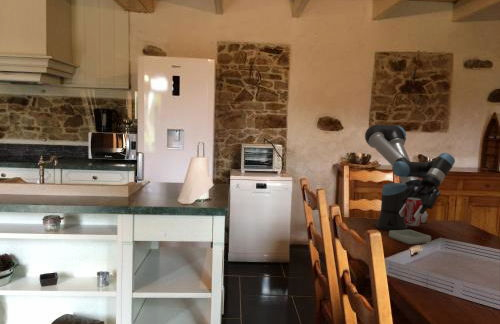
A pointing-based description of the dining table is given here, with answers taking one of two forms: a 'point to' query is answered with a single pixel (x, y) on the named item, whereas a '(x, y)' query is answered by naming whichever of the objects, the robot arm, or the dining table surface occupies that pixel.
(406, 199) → the robot arm
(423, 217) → the die
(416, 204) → the soda can
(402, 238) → the dish
